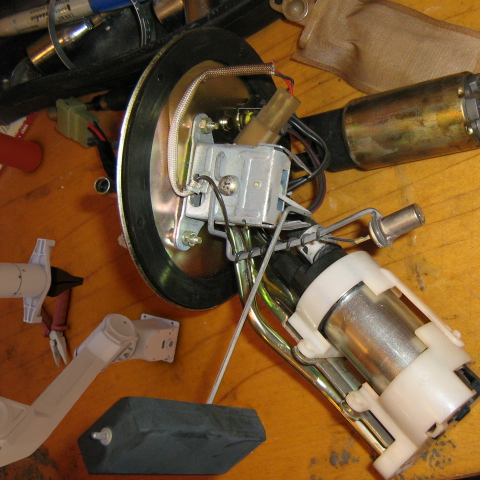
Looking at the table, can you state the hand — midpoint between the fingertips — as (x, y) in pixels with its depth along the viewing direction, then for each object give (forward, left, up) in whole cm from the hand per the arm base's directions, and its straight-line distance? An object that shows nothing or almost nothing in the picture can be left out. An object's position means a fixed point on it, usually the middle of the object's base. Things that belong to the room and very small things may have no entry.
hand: (79, 280), depth 88 cm
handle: (-1, -8, -9) cm, 12 cm away
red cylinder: (+35, -25, -10) cm, 44 cm away
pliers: (+18, +11, -11) cm, 23 cm away
